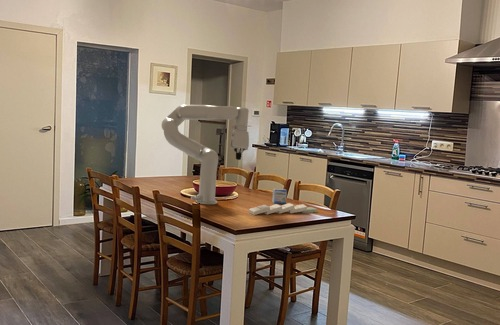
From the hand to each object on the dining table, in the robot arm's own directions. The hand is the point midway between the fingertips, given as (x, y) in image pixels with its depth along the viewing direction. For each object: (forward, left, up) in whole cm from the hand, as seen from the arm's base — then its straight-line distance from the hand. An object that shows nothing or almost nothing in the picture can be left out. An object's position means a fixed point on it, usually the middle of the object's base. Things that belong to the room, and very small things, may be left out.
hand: (238, 159), depth 289 cm
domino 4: (+18, -29, -25) cm, 43 cm away
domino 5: (+26, -30, -26) cm, 47 cm away
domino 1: (-6, -29, -25) cm, 39 cm away
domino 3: (+11, -28, -26) cm, 40 cm away
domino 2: (+2, -29, -25) cm, 39 cm away
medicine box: (+29, -4, -27) cm, 40 cm away
